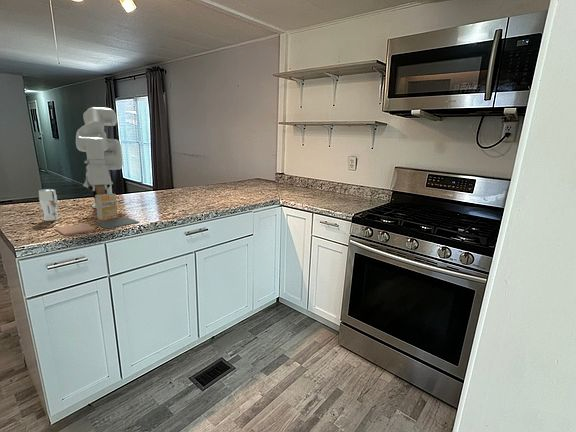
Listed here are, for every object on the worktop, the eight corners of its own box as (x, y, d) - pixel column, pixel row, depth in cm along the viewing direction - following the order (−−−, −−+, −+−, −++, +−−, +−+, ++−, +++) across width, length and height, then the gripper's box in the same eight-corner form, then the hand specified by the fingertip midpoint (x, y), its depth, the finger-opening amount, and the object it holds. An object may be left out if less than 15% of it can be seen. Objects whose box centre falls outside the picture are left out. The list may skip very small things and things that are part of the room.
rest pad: (55, 229, 141) (55, 228, 141) (85, 224, 150) (85, 223, 150) (64, 235, 134) (64, 234, 133) (95, 230, 143) (95, 228, 143)
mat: (94, 223, 153) (94, 222, 153) (127, 217, 165) (127, 217, 165) (105, 228, 145) (105, 228, 145) (139, 222, 157) (139, 221, 157)
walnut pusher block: (95, 203, 164) (93, 184, 161) (103, 202, 167) (101, 184, 164) (98, 204, 161) (96, 185, 159) (106, 203, 164) (104, 184, 162)
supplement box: (103, 221, 157) (100, 196, 154) (97, 219, 159) (94, 194, 156) (118, 218, 164) (116, 193, 161) (113, 216, 166) (110, 192, 163)
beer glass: (51, 221, 153) (46, 191, 149) (39, 220, 154) (34, 190, 150) (63, 218, 159) (59, 189, 155) (51, 217, 160) (47, 188, 157)
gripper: (80, 163, 150) (85, 200, 155) (116, 162, 163) (119, 196, 167) (74, 162, 155) (79, 198, 159) (110, 161, 167) (113, 194, 172)
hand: (100, 197), depth 163 cm, fingers closed on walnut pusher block, 4 cm apart
